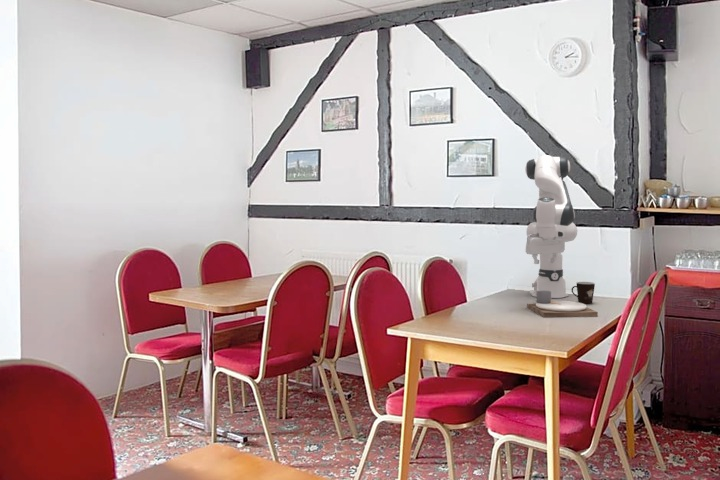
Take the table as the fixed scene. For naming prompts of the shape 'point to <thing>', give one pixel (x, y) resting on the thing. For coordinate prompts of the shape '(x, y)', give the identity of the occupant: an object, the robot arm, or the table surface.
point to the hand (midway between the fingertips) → (544, 263)
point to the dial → (556, 303)
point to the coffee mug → (585, 292)
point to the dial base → (562, 312)
